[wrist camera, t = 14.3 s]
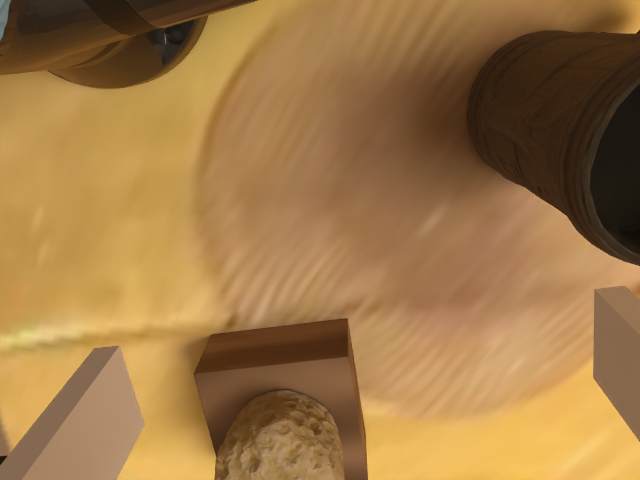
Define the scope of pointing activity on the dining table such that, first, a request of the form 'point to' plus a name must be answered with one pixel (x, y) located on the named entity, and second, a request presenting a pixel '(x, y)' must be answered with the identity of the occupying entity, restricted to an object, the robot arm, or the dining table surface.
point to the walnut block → (285, 379)
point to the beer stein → (568, 128)
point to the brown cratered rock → (281, 441)
